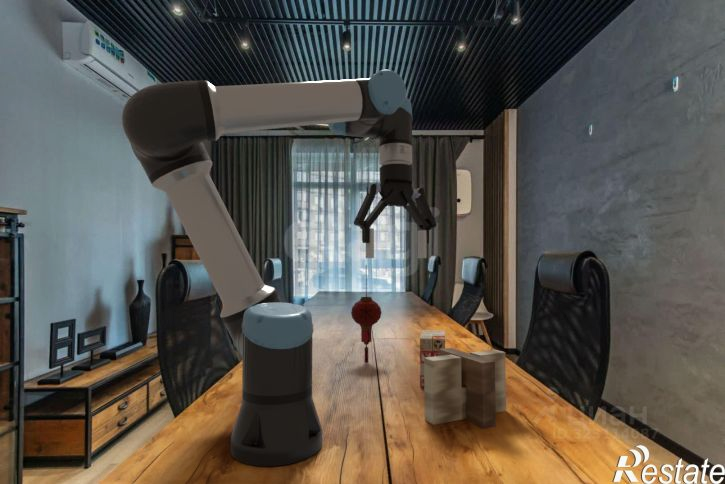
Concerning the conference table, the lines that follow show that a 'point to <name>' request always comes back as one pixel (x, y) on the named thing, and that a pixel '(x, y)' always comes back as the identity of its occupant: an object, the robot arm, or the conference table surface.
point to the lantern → (366, 317)
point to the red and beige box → (430, 347)
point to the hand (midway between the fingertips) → (396, 258)
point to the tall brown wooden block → (477, 387)
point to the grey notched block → (456, 386)
